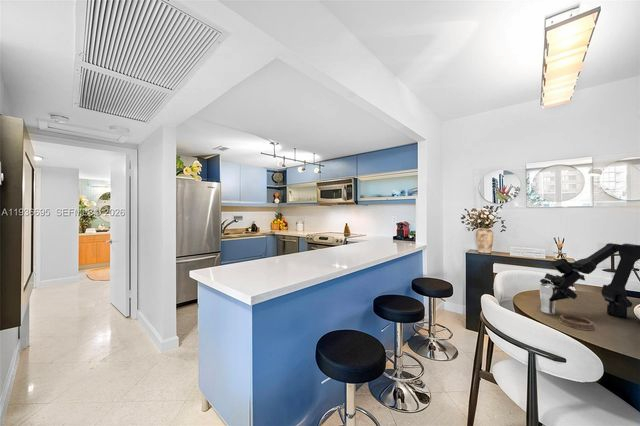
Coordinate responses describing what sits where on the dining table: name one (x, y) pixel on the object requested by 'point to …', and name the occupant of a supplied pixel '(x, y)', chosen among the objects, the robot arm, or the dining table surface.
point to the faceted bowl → (576, 322)
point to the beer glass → (547, 298)
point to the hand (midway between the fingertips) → (545, 298)
